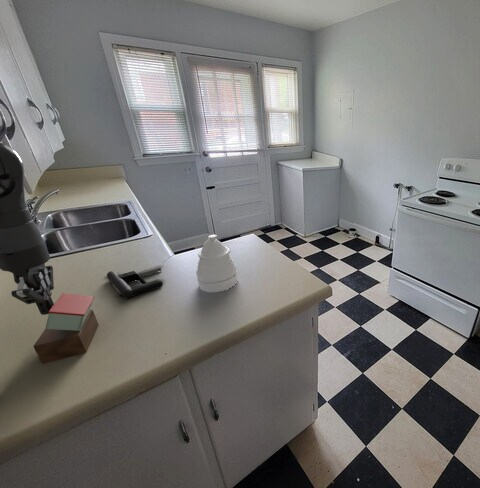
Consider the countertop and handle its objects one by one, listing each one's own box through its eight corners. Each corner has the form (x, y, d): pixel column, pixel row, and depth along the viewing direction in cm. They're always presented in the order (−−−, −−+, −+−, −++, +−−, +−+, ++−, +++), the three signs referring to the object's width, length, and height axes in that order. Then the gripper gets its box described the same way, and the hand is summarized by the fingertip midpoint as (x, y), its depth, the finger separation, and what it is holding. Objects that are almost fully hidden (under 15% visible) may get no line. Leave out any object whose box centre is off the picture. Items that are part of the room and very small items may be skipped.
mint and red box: (44, 328, 60) (48, 311, 59) (58, 308, 67) (62, 292, 66) (80, 331, 64) (84, 314, 63) (90, 311, 70) (94, 296, 70)
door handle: (152, 259, 105) (101, 273, 93) (174, 276, 93) (119, 294, 81) (154, 267, 106) (103, 281, 94) (176, 284, 94) (121, 303, 83)
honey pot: (244, 283, 93) (237, 235, 86) (205, 297, 86) (195, 245, 79) (230, 270, 103) (223, 225, 96) (194, 280, 95) (184, 233, 88)
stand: (42, 363, 61) (32, 346, 59) (61, 333, 70) (53, 317, 68) (86, 352, 64) (78, 335, 62) (98, 324, 74) (92, 309, 72)
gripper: (10, 236, 60) (40, 301, 67) (-29, 259, 49) (11, 335, 56) (54, 231, 63) (78, 294, 70) (26, 253, 52) (58, 325, 59)
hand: (48, 312), depth 63 cm, fingers closed
